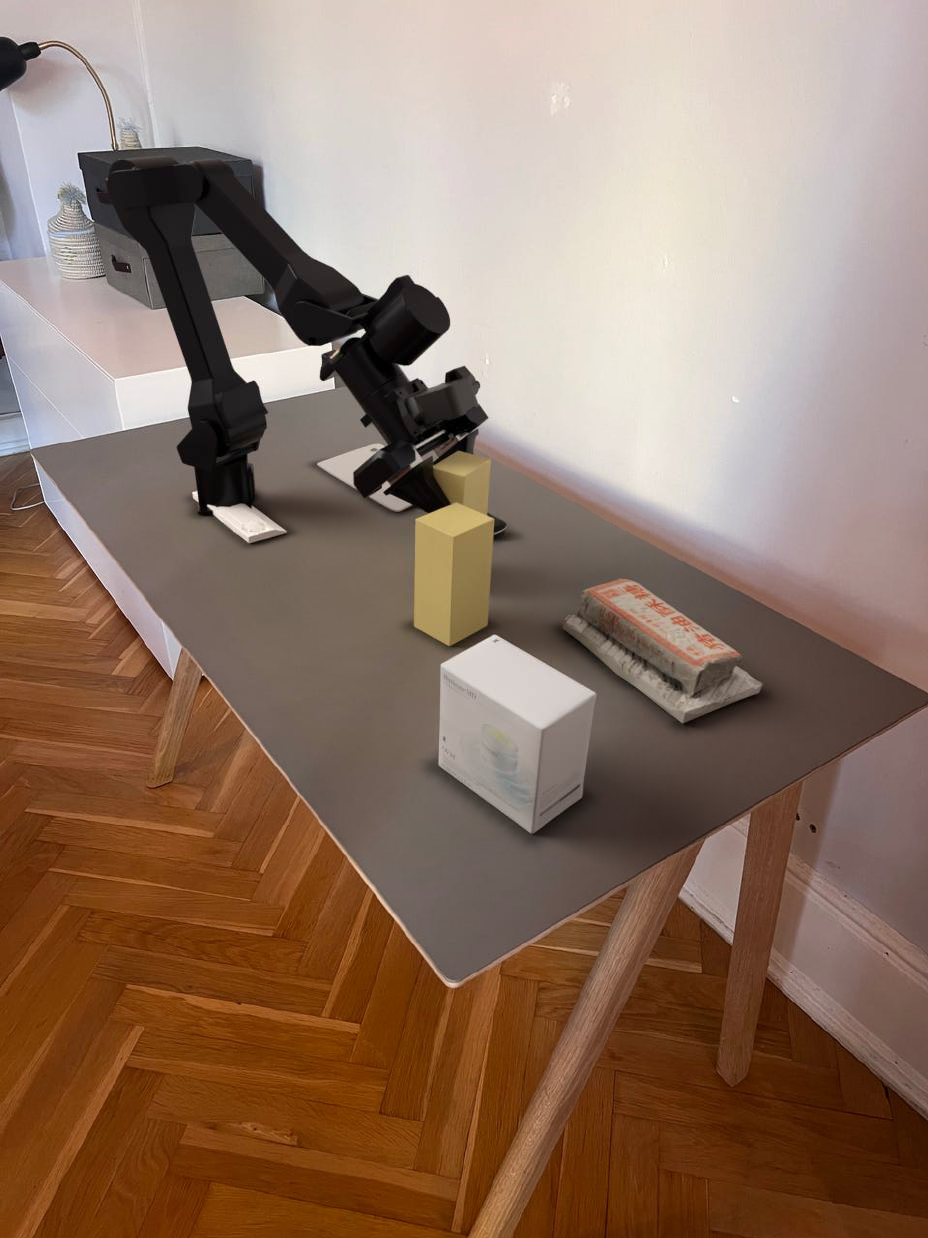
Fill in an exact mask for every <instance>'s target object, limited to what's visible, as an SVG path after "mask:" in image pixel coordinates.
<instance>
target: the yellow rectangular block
mask: <svg viewBox="0 0 928 1238" xmlns="http://www.w3.org/2000/svg"><path fill="white" fill-rule="evenodd" d="M491 465H492V459H491V458H488V457H484V456H480V455H477V454H474V455H473V454H469V453H465V452H461V451H457V452H455V453H454V454H452V455H450V456H449V457H447V458H445V459H444V460H442V461H440V462H439V463H437V464H435V465H433V475H434V477H435V479H436V481H437V482H438V484H439V486H440V487H441V489H442V490H443V492H444V494H445V495H446V497H447V498H448V500H449V502H450V503H451V504H454V503H456V502H457V503H459V504H461V505H464V506H466V507H468V508H471V509H473V510H475V511H477V512H480V513H482V514H484V515H487V513H488V510H489V509H488V506H489V493H490V492H489V491H490V479H491V478H490V477H491Z"/></svg>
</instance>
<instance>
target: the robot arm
mask: <svg viewBox="0 0 928 1238" xmlns="http://www.w3.org/2000/svg"><path fill="white" fill-rule="evenodd" d="M105 187H106V192H107V195H108V198H109V201H110V203H111V205H112V207H113V209H114V211H115V213H116V215H117V217H118V219H119V221H120V223H121V225H122V227H123V228H124V230H125V231H126V232H127V233H128V234H129V235H130V236H131V237H132V238H133V239H134V240H135V241H136V242H137V243H138V244H139V245H140V246H141V247H142V248H143V249H144V250H145V252H146V255H147V257H148V259H149V262H150V266H151V268H152V270H153V274H154V276H155V280H156V283H157V284H158V288H159V291H160V294H161V297H162V300H163V302H164V305H165V308H166V312H167V314H168V317H169V319H170V323H171V325H172V329H173V331H174V334H175V337H176V340H177V343H178V346H179V348H180V352H181V355H182V358H183V360H184V362H185V366H186V369H187V371H188V374H189V377H190V382H191V383H190V388H189V396H188V403H187V413H188V418H189V421H190V426H191V429H190V430H189V432H187V434H186V435H185V436H184V437H183V439H181V440H180V442H178V444H177V445H176V451H177V453H178V456H179V458H180V459H179V460H180V461H181V463H182V464H183V465H186V466H190V467H193V469H194V476H195V484H196V485H195V486H196V491H197V494H198V502H197V508H196V512H197V514H198V515H213V511H212V510H211V509H210V508H209V507H207V505H211V506H215V507H231V506H233V505H237V504H245V505H247V506H248V507H249V508H252V506H253V503H255V502H256V496H257V491H256V480H255V478H256V477H255V467H254V464H253V463H252V462H249V454H251V453H253V452H256V451H258V450H259V449H260V448H259V447H260V444H261V439H262V438H263V436H264V435H265V431H266V430H267V429H268V422H267V417H266V415H268V414H269V411H268V409H267V408H266V406H265V404H264V402H263V399H262V395H261V390H260V386H259V384H258V382H257V381H255V380H251V381H248V382H247V381H246V380H245V379H244V378H243V377H242V376H241V375H240V374H239V373H238V372H237V371H236V370H235V369H234V366H233V364H232V360H231V358H230V357H231V356H230V355H229V351H228V348H227V345H226V343H225V339H224V336H223V333H222V329H221V327H220V324H219V321H218V317H217V315H216V311H215V308H214V305H213V303H212V302H213V301H212V299H211V297H210V294H209V291H208V287H207V284H206V281H205V279H204V275H203V271H202V269H201V266H200V263H199V260H198V257H197V254H196V250H195V247H194V244H193V240H192V236H193V232H194V231H193V230H194V225H195V218H196V206H197V207H198V208H199V209H200V210H201V212H202V213H203V214H204V215H205V216H206V217H207V218H208V219H209V220H210V222H211V223H212V224H213V225H214V226H215V227H216V228H217V229H218V230H219V231H220V233H221V234H222V235H223V236H224V237H225V238H226V239H227V240H228V241H229V242H230V243H231V245H232V246H233V247H234V248H235V249H236V250H237V251H238V252H239V253H240V255H242V257H243V258H245V259H246V261H247V262H248V263H249V264H250V265H251V267H253V268H254V269H255V270H256V271H257V273H258V274H259V275H260V276H261V278H263V279H264V280H265V282H266V283H267V284H268V285H269V287H270V288H271V289H272V291H273V292H274V297H275V302H276V306H277V310H278V312H279V313H280V315H281V316H282V318H283V319H284V320H285V322H286V324H287V326H289V328H290V329H291V331H292V332H293V333H294V334H295V336H296V338H297V339H298V340H299V341H301V342H302V343H303V344H305V345H307V346H309V347H312V346H313V347H322V346H325V345H328V344H330V343H333V342H336V341H339V340H341V339H344V338H348V337H349V336H353V335H356V333H358V332H359V331H362V330H363V331H364V333H363V335H361V336H353V337H350V338H348V339H346V340H345V341H344V343H343V344H342V345H341V346H340V347H339V348H338V349H337V350H336V349H331V350H330V351H326V352H323V353H321V356H320V358H321V365H320V369H319V380H320V381H321V382H326V381H328V380H331V379H333V378H335V377H339V378H340V380H341V381H342V382H343V384H344V385H345V387H346V388H347V390H348V391H349V392H350V394H351V395H352V397H353V398H354V399H355V400H356V402H357V403H358V405H359V406H360V407H361V409H362V411H363V413H365V414H364V415H363V416H362V417H361V418H360V419H359V421H360V423H361V424H362V425H363V427H364V428H365V429H366V428H368V427H370V426H372V425H373V427H374V428H375V429H376V431H377V432H378V434H379V435H380V436H381V437H382V439H383V441H384V442H385V444H386V445H384V446H385V447H383V448H382V449H380V450H376V451H377V452H376V453H375V454H374V455H373V456H371V457H370V458H369V459H368V460H367V461H366V462H364V463H363V464H362V465H361V466H360V467H359V468H358V469H356V470H355V471H354V472H353V484H354V486H355V487H356V488H357V490H356V491H357V492H358V493H359V494H360V496H361V497H362V499H364V500H366V499H367V498H369V496H371V495H372V494H374V493H376V492H377V491H379V490H380V489H381V488H382V485H383V484H384V483H385V482H386V481H388V483H389V484H390V485H391V486H390V487H389V488H387V489H386V490H385V491H384V492H383V493H384V494H385V495H386V496H387V495H389V494H390V495H393V496H395V497H397V498H399V499H401V500H403V501H406V502H408V503H410V504H412V506H414V507H416V508H418V509H419V510H422V511H423V512H425V513H427V514H429V513H432V512H434V511H436V510H439V509H441V508H444V507H446V506H449V505H451V503H450V502H449V500H448V498H447V497H446V495H445V494H444V492H443V490H442V489H441V487H440V486H439V484H438V482H437V481H436V479H435V477H434V475H433V466H434V465H435V464H437V463H439V462H440V461H442V460H444V459H445V458H447V457H449V456H450V455H452V454H454V453H455V452H457V451H461V452H465V453H469V454H473V455H475V453H474V448H475V443H476V438H477V436H479V434H480V431H479V427H480V426H481V425H483V423H485V422H486V421H487V420H489V418H490V417H489V416H488V415H487V413H486V411H485V410H484V408H483V407H482V406H481V405H480V403H479V401H478V399H477V396H476V395H477V394H478V393H479V390H480V389H481V383H480V381H479V380H477V379H476V377H475V376H474V375H473V373H472V372H471V371H470V370H469V369H468V368H467V366H466V365H462V366H459V367H455V368H453V369H450V370H449V371H447V372H445V375H444V382H442V383H439V384H437V385H435V386H431V387H428V386H427V385H426V383H425V382H424V381H423V380H422V379H419V378H418V377H417V378H414V379H412V380H410V379H409V378H408V376H407V375H406V373H405V371H404V370H403V369H402V368H401V366H403V367H408V366H411V365H413V364H414V363H415V362H416V361H417V360H418V359H419V358H420V357H421V356H423V354H424V353H425V352H426V351H428V350H429V349H430V348H431V347H432V346H433V345H434V344H435V343H436V342H437V341H438V340H439V339H441V338H442V337H443V335H445V334H446V333H447V332H448V331H449V329H450V328H451V317H450V313H449V312H448V309H447V306H445V304H444V302H443V300H442V299H441V298H440V297H439V296H436V295H435V294H434V293H433V292H432V291H430V290H429V289H428V288H427V287H424V286H423V285H420V284H419V283H418V284H417V283H415V282H414V280H413V278H412V277H411V276H410V275H409V274H404V275H401V276H398V277H395V279H393V280H392V282H391V283H390V284H389V285H388V286H387V288H386V290H385V292H384V293H383V294H382V295H381V296H380V297H379V298H376V297H374V296H371V295H368V294H365V293H363V292H361V290H360V289H359V287H358V286H357V285H356V284H355V283H353V282H352V281H351V280H350V279H348V278H347V277H346V276H344V275H343V274H342V273H341V272H339V271H338V270H337V269H336V268H334V267H333V266H331V265H329V264H326V263H324V262H322V261H321V260H317V259H315V258H313V257H312V256H310V255H309V254H308V253H307V252H306V251H304V250H303V248H301V247H300V245H298V243H297V242H296V241H295V240H294V239H293V238H292V237H291V236H290V235H289V233H288V232H286V230H285V229H284V228H283V227H282V226H281V225H280V224H279V223H278V221H276V220H275V218H273V216H272V215H271V214H270V213H269V211H268V210H266V209H265V207H264V206H263V205H262V204H261V203H260V202H259V201H258V200H257V199H256V198H255V197H254V196H253V195H252V193H251V192H250V191H249V190H248V189H247V188H246V186H244V185H243V184H242V183H241V181H239V180H238V178H237V177H236V175H235V172H234V170H233V168H232V167H231V165H230V164H228V163H227V162H226V161H224V160H222V159H220V158H216V157H213V158H202V159H201V158H200V159H191V160H187V161H185V162H184V163H181V162H178V161H177V160H176V159H174V158H173V157H172V156H169V155H167V154H163V155H149V156H139V157H137V156H136V157H127V158H118V159H116V160H115V161H113V163H112V164H111V166H110V168H109V170H108V176H107V177H106V179H105ZM195 205H196V206H195ZM432 451H433V452H434V453H435V454H436V456H437V458H436V459H435V460H434V457H433V455H430V456H429V457H427V458H426V459H423V458H422V457H424V456H425V455H427V454H429V453H430V452H432Z"/></svg>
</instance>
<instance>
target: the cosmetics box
mask: <svg viewBox="0 0 928 1238" xmlns="http://www.w3.org/2000/svg"><path fill="white" fill-rule="evenodd" d="M439 687H440V692H439V693H440V694H439V730H438V731H439V733H438V735H439V737H438V767H440V768H441V769H442V770H444V771H445V772H446V773H448V774H449V775H450V776H452V777H453V778H455V779H456V780H457V781H459V782H460V783H462V784H463V785H464V786H465V787H467V788H468V789H469V790H471V791H472V792H473V793H475V794H476V795H478V796H479V797H480V798H482V799H483V800H484V801H486V802H487V803H489V804H490V805H491V806H493V807H494V808H496V809H497V810H498V811H499V812H501V813H502V814H504V815H505V816H506V817H508V818H509V819H510V820H512V821H513V822H514V823H516V824H517V825H518V826H520V827H521V828H523V829H524V830H525V831H527V832H528V833H529V834H535V833H536V832H537V831H539V830H540V829H542V828H543V827H545V825H547V824H548V823H549V822H551V821H552V820H553V819H555V818H556V817H557V816H559V815H561V813H563V812H564V811H565V810H567V809H568V808H570V807H571V806H572V805H575V803H577V802H578V801H579V800H581V799H582V798H583V795H584V785H585V775H586V767H587V762H588V761H587V760H588V753H589V746H590V739H591V733H592V727H593V725H592V724H593V719H594V713H595V706H596V702H597V701H596V700H597V697H598V696H597V692H595V691H594V690H592V689H590V688H588V687H587V686H585V685H583V684H582V683H580V682H579V681H576V680H575V679H573V678H571V677H570V676H568V675H566V674H564V673H562V672H560V671H559V670H557V669H555V668H553V667H552V666H550V665H548V664H547V663H545V662H543V661H542V660H540V659H538V658H537V657H535V656H533V655H531V654H530V653H528V652H526V651H525V650H523V649H521V648H519V647H518V646H516V645H514V644H512V643H511V642H509V641H507V640H506V639H504V638H502V637H501V636H499V635H497V634H492V635H490V636H489V637H487V638H486V639H483V640H482V641H479V642H478V643H476V644H474V645H472V646H470V647H469V648H467V649H465V650H464V651H461V652H460V653H458V654H456V655H454V656H452V657H451V658H449V659H447V660H446V661H443V662H442V663H441V664H440V685H439Z"/></svg>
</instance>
